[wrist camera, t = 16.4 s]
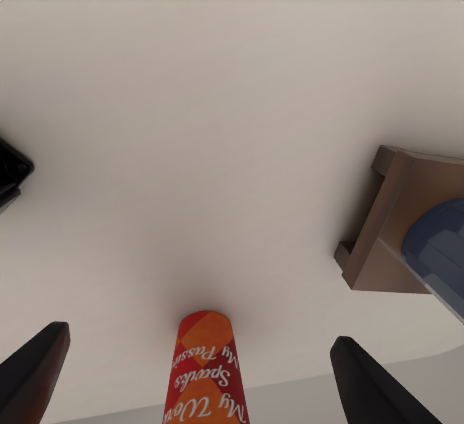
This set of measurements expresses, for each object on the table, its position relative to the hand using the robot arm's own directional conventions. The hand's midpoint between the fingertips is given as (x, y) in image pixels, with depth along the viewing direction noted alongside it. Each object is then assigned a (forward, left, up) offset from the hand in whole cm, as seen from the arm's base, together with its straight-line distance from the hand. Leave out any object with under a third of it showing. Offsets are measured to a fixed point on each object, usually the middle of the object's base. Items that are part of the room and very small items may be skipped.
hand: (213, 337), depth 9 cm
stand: (+13, +11, -13) cm, 22 cm away
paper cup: (+12, -11, -13) cm, 21 cm away
